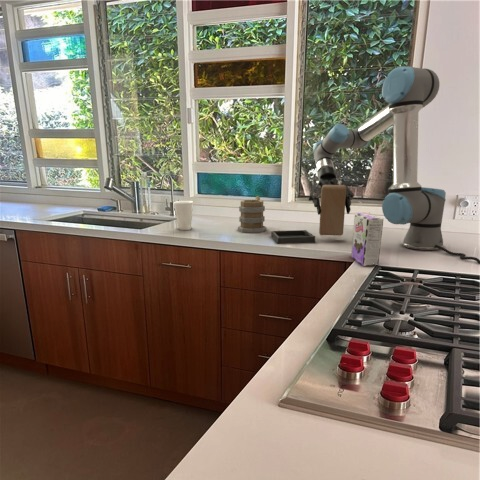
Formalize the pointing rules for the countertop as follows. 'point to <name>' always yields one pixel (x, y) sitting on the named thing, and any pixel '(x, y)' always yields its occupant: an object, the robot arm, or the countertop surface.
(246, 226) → the tankard
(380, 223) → the candy box
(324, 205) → the block
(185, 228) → the foam cup
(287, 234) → the dark grey square tray
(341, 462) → the countertop surface
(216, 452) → the countertop surface
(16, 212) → the countertop surface
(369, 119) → the robot arm
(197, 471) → the countertop surface
